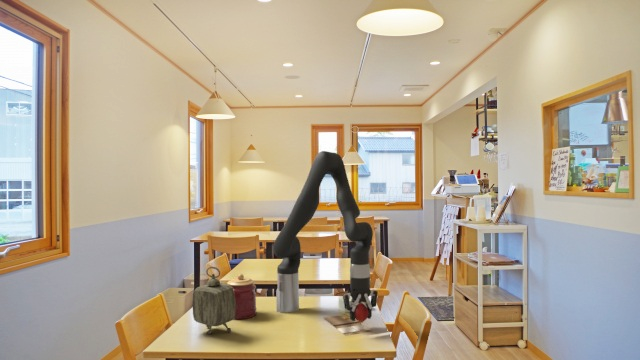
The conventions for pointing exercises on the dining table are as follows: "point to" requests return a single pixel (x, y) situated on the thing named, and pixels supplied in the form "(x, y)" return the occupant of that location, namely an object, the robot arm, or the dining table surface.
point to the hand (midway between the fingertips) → (360, 319)
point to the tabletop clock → (214, 303)
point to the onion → (361, 312)
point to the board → (347, 325)
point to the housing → (342, 307)
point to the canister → (244, 297)
